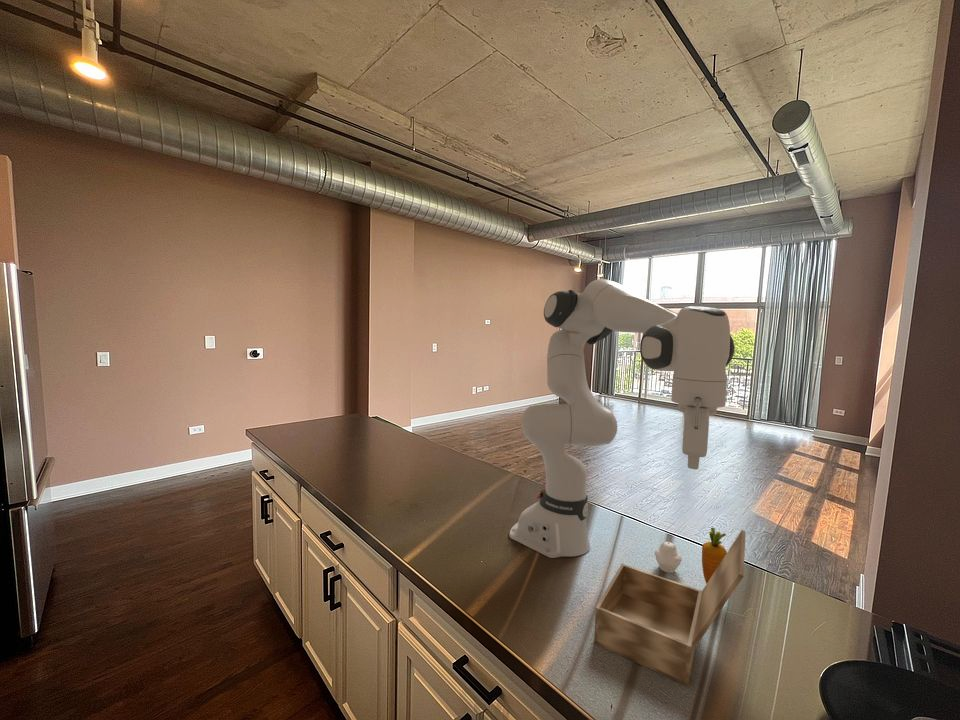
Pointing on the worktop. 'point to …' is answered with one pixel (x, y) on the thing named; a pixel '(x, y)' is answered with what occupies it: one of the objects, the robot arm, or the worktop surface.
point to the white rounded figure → (668, 557)
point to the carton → (649, 622)
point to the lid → (720, 587)
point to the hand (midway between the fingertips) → (692, 466)
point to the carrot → (712, 554)
